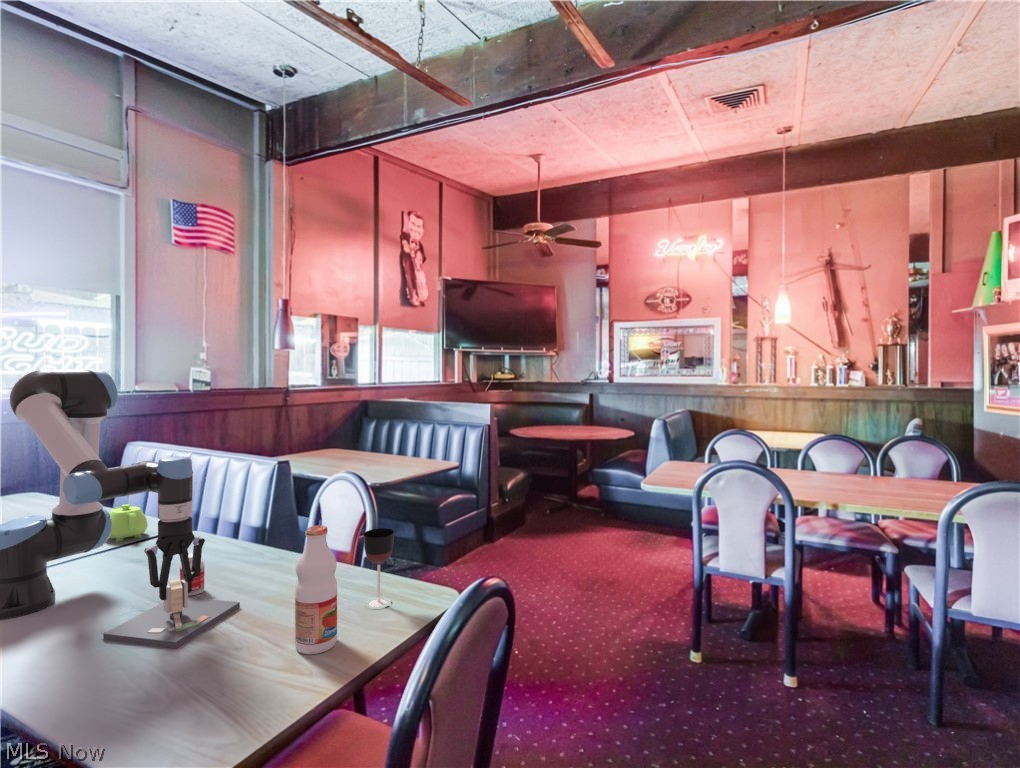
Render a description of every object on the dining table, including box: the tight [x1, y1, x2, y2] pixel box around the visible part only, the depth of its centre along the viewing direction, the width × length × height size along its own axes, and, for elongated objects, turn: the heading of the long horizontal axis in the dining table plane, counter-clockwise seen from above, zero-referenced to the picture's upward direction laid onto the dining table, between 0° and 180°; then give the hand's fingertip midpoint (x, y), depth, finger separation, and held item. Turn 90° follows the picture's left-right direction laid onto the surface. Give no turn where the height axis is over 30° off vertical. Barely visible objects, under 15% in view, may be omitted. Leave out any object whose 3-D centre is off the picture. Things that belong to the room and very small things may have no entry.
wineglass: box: [363, 527, 395, 607], centre depth 150 cm, size 8×9×20 cm
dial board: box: [102, 596, 241, 649], centre depth 138 cm, size 20×22×2 cm
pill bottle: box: [179, 552, 205, 597], centre depth 156 cm, size 6×6×11 cm
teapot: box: [109, 503, 148, 543], centre depth 206 cm, size 20×13×13 cm
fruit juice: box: [294, 525, 338, 655], centre depth 127 cm, size 9×9×28 cm
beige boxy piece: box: [168, 578, 183, 629], centre depth 135 cm, size 12×3×8 cm, turn 36°
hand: (175, 608), depth 138 cm, fingers closed on beige boxy piece, 3 cm apart
